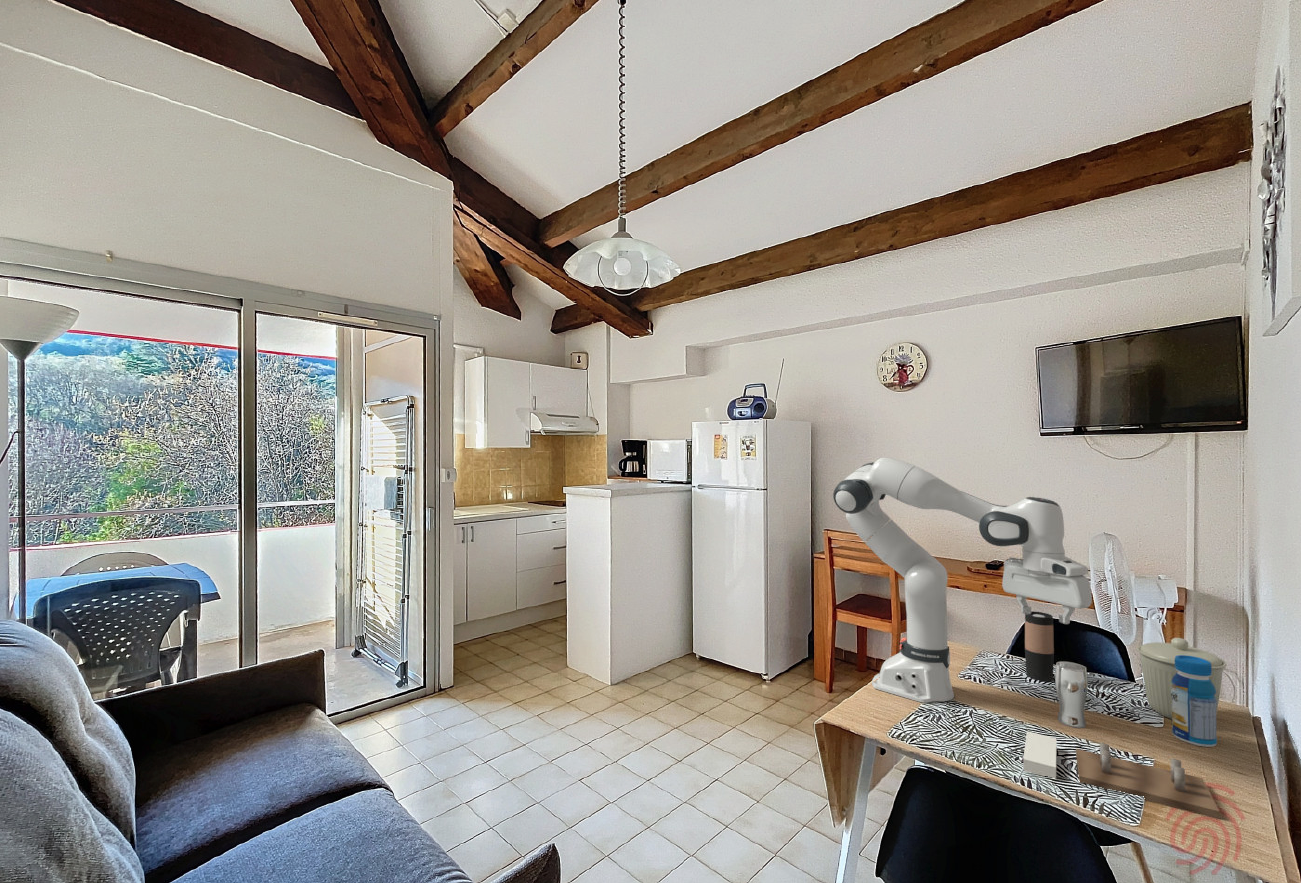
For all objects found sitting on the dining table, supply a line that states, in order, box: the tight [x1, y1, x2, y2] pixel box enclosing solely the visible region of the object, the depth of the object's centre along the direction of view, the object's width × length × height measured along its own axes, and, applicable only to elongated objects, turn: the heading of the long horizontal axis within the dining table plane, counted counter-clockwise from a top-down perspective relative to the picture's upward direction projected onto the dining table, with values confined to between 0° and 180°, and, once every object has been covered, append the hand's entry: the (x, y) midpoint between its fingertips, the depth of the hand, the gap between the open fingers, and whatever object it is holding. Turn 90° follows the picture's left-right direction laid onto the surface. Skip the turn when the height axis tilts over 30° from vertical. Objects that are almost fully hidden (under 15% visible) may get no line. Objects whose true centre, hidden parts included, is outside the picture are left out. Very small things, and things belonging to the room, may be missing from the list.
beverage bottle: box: [1171, 655, 1218, 748], centre depth 144 cm, size 8×8×20 cm
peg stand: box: [1075, 742, 1221, 820], centre depth 125 cm, size 22×14×6 cm, turn 56°
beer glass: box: [1054, 661, 1089, 729], centre depth 153 cm, size 7×7×15 cm
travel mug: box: [1024, 610, 1055, 682], centre depth 185 cm, size 8×8×20 cm
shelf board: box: [1022, 731, 1057, 780], centre depth 135 cm, size 6×16×3 cm, turn 144°
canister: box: [1136, 637, 1227, 720], centre depth 158 cm, size 18×18×21 cm
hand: (1044, 618), depth 144 cm, fingers open, 8 cm apart
